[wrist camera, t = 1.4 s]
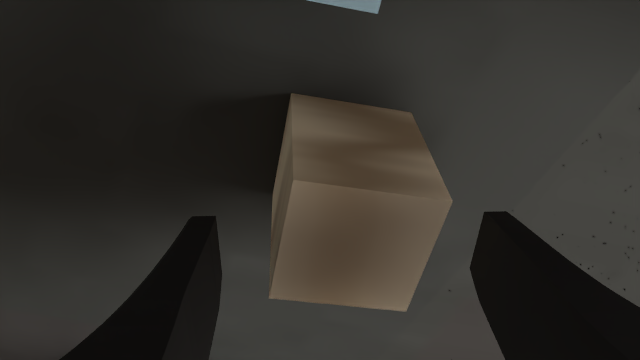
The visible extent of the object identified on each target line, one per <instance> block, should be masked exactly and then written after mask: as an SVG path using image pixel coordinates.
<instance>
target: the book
mask: <svg viewBox="0 0 640 360" xmlns="http://www.w3.org/2000/svg"><path fill="white" fill-rule="evenodd" d="M308 1H313V2H318V3H324V4H329V5H334V6H339V7H344V8H350V9H355V10H360V11H365V12H370V13H376V14H378V11H379V7H380V3H381V0H308Z"/></svg>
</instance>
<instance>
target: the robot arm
mask: <svg viewBox="0 0 640 360" xmlns="http://www.w3.org/2000/svg"><path fill="white" fill-rule="evenodd" d="M470 270H471V274H472V278H473V281H474V285H475V288H476V292H477V295H478V298H479V301H480V304H481V306H482V308H483V311H484V313H485V315H486V317H487V320H488V322H489V324H490V327H491V329H492V331H493V333H494V335H495V338H496V340H497V342H498V344H499V346H500V349H501V351H502V353H503V355H504V358H505V360H640V307H638V306H636V305H635V304H633V303H631V302H630V301H628V300H626V299H625V298H623V297H621V296H620V295H618V294H616V293H615V292H613V291H612V290H610V289H609V288H607V287H606V286H604V285H603V284H601V283H600V282H598V281H597V280H596V279H594V278H593V277H591V276H590V275H588V274H587V273H586V272H584V271H583V270H581V269H580V268H579V267H577V266H576V265H574V264H573V263H572V262H570V261H569V260H568V259H566V258H565V257H564V256H563V255H561V254H560V253H559V252H557V251H556V250H555V249H554V248H552V247H551V246H550V245H548V244H547V243H546V242H545V241H543V240H542V239H541V238H540V237H538V236H537V235H536V234H535V233H533V232H532V231H531V230H530V229H528V228H527V227H526V226H525V225H523V224H522V223H521V222H520V221H518V220H517V219H516V218H515V217H513V216H512V215H510V214H509V213H508V212H506V211H504V212H484V215H483V219H482V223H481V226H480V230H479V234H478V238H477V242H476V246H475V250H474V253H473V257H472V261H471V265H470ZM221 280H222V269H221V260H220V250H219V241H218V232H217V223H216V216H194V217H191V218H190V219H189V220H188V221H187V223H186V225H185V226H184V228H183V229H182V231H181V232H180V234H179V235H178V237H177V238H176V240H175V241H174V242H173V244H172V245H171V247H170V248H169V249H168V251H167V252H166V253H165V255H164V256H163V257H162V259H161V260H160V261H159V262H158V264H157V265H156V266H155V268H154V269H153V270H152V271H151V273H150V274H149V275H148V276H147V277H146V278H145V280H144V281H143V282H142V283H141V284H140V285H139V287H138V288H137V289H136V290H135V291H134V292H133V293H132V295H131V296H130V297H129V298H128V299H127V300H126V301H125V302H124V303H123V304H122V305H121V306H120V307H119V308H118V309H117V310H116V311H115V312H114V313H113V314H112V315H111V316H110V317H109V318H108V319H107V320H106V321H105V322H104V323H103V324H102V325H100V326H99V327H98V328H97V329H96V330H95V331H94V332H93V333H91V334H90V335H89V336H88V337H87V338H86V339H85V340H83V341H82V342H81V343H80V344H79V345H77V346H76V347H75V348H74V349H73V350H71V351H70V352H69V353H68V354H66V355H65V356H64V357H62V358H61V359H60V360H208V359H209V355H210V350H211V345H212V340H213V336H214V331H215V326H216V321H217V316H218V311H219V304H220V293H221Z"/></svg>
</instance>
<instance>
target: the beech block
mask: <svg viewBox="0 0 640 360" xmlns="http://www.w3.org/2000/svg"><path fill="white" fill-rule="evenodd" d="M452 202H453V201H452V199H451V197H450V194H449V192H448V190H447V188H446V186H445V184H444V182H443V179H442V177H441V175H440V173H439V171H438V169H437V167H436V164H435V162H434V160H433V158H432V156H431V154H430V152H429V149H428V147H427V145H426V143H425V141H424V139H423V137H422V134H421V132H420V130H419V128H418V126H417V124H416V122H415V120H414V117H413V115H412V113H411V112H405V111H399V110H393V109H387V108H380V107H374V106H368V105H362V104H356V103H350V102H343V101H337V100H331V99H325V98H319V97H313V96H307V95H300V94H294V93H291V97H290V102H289V108H288V113H287V119H286V124H285V130H284V135H283V141H282V146H281V152H280V157H279V163H278V168H277V174H276V179H275V185H274V190H273V199H272V227H271V254H270V281H269V298H272V299H282V300H293V301H303V302H313V303H323V304H334V305H344V306H354V307H365V308H375V309H385V310H395V311H407V308H408V306H409V303H410V301H411V299H412V296H413V294H414V292H415V289H416V287H417V285H418V282H419V280H420V277H421V275H422V273H423V270H424V268H425V266H426V263H427V261H428V259H429V256H430V254H431V252H432V249H433V247H434V244H435V242H436V240H437V237H438V235H439V233H440V230H441V228H442V226H443V223H444V221H445V219H446V216H447V214H448V211H449V209H450V207H451V204H452Z"/></svg>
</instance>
